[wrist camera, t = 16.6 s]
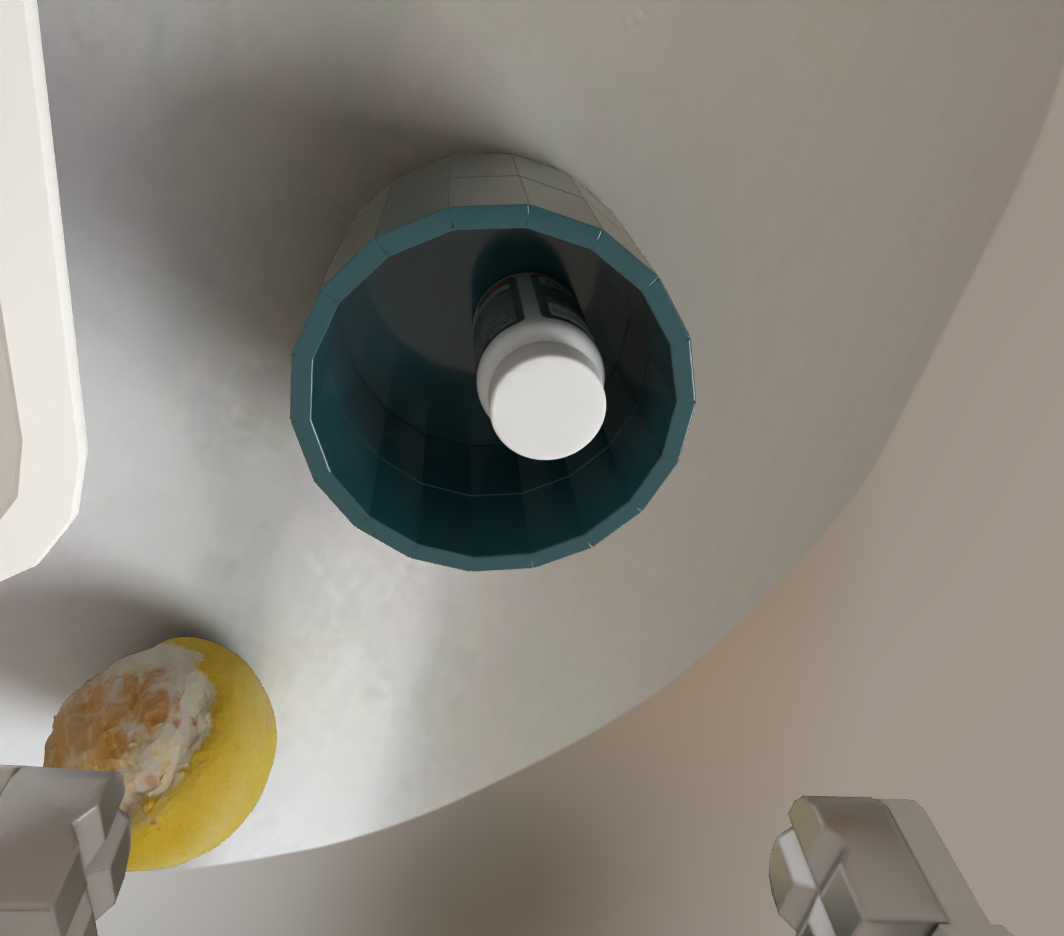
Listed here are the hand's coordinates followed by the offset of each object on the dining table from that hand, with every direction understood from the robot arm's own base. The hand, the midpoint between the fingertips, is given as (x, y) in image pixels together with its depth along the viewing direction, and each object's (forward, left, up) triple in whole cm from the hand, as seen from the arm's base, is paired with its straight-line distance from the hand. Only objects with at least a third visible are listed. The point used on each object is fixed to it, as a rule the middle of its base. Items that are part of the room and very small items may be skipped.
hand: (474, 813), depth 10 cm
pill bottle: (-3, +3, -26) cm, 27 cm away
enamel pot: (-1, +3, -27) cm, 27 cm away
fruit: (+12, +25, -27) cm, 39 cm away
